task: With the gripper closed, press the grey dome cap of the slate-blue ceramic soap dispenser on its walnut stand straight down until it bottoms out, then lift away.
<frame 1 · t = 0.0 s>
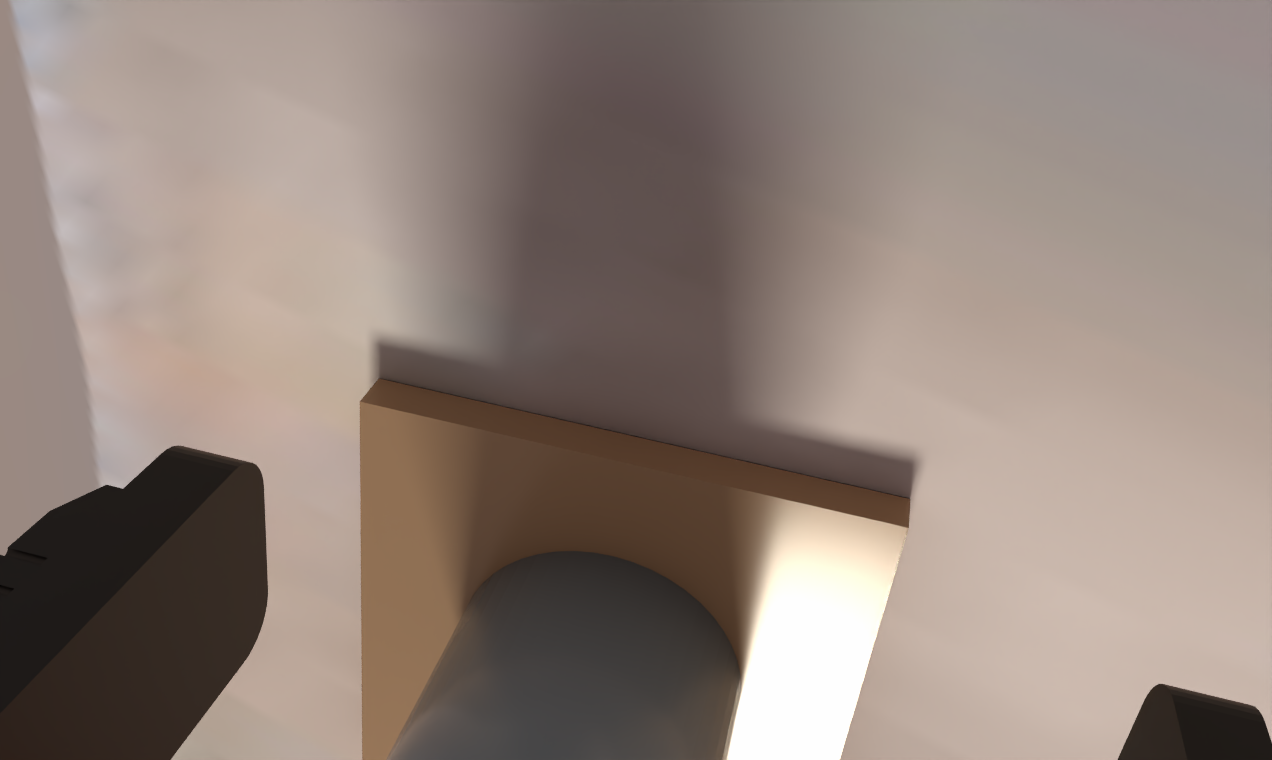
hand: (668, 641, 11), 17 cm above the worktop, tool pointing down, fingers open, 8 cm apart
soap dispenser: (608, 637, 34), on the worktop
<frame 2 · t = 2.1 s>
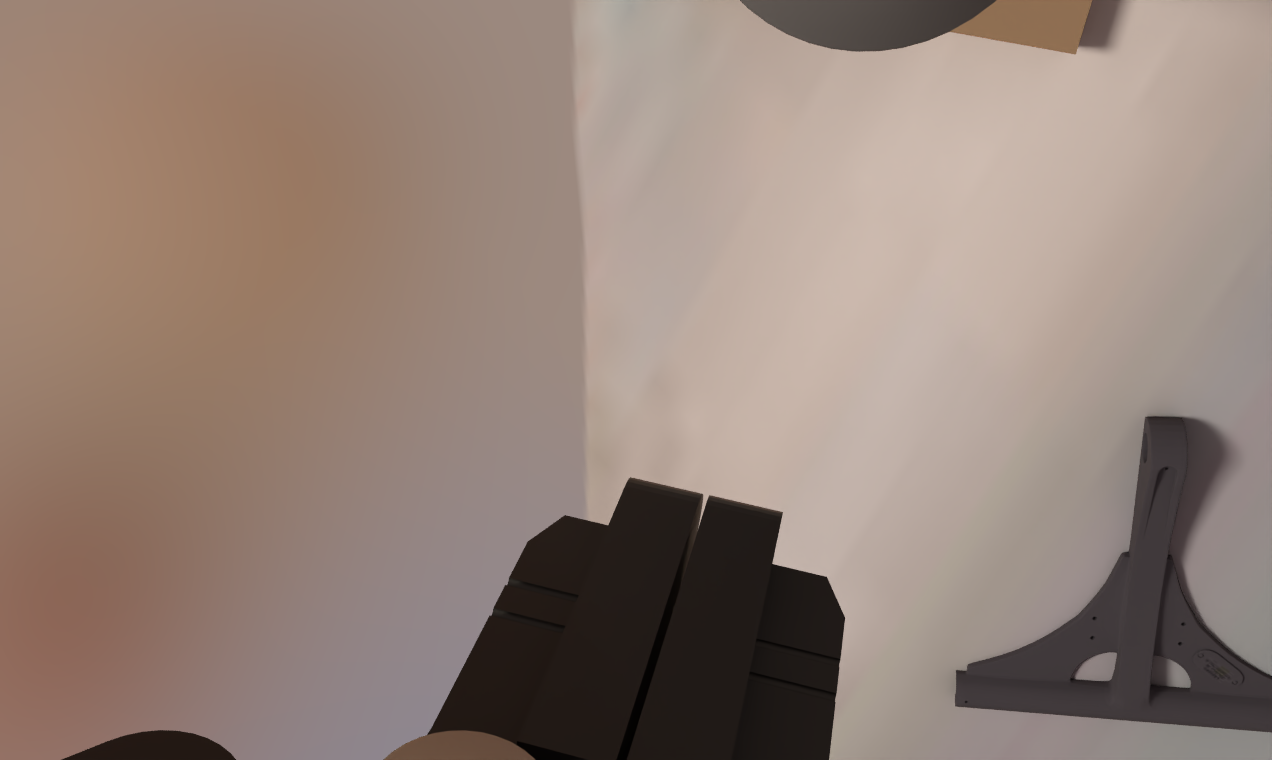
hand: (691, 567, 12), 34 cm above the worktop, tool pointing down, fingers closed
bracket: (1143, 562, 50), on the worktop
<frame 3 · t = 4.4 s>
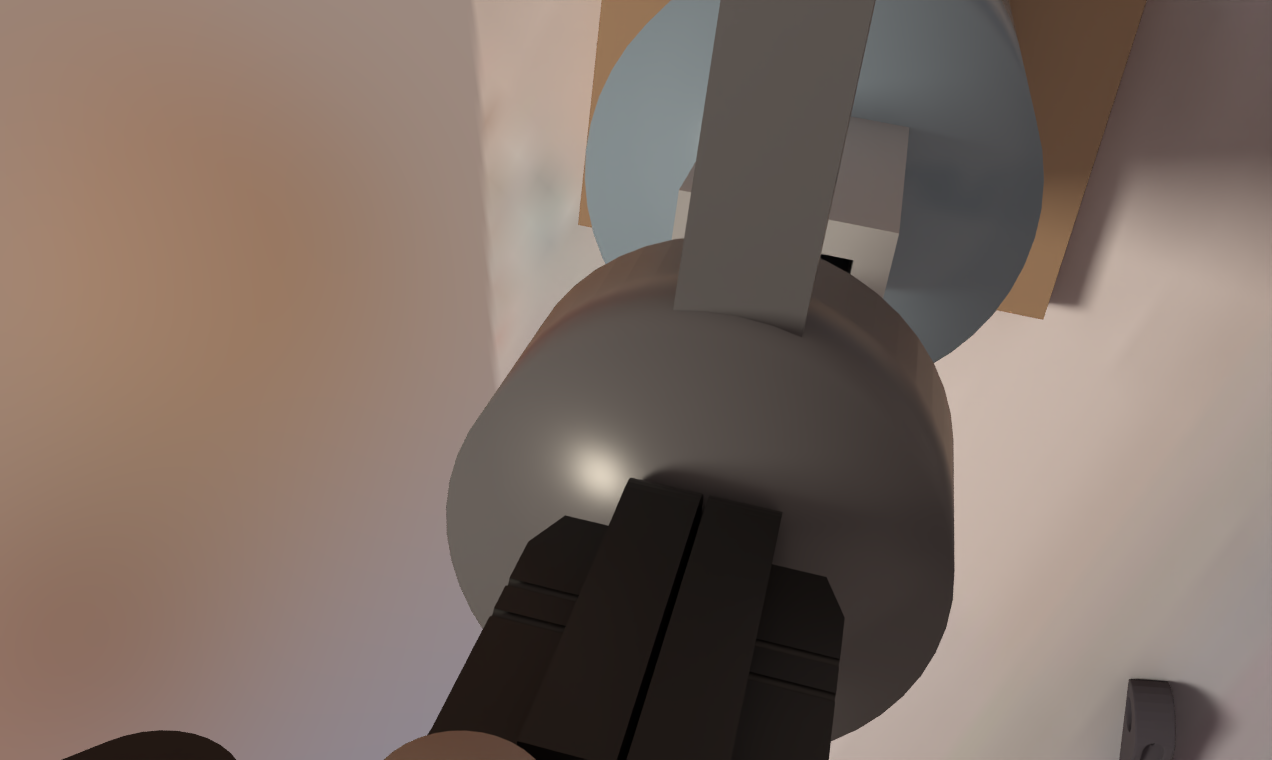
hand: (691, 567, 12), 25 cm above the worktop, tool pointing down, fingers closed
grey dome cap: (768, 263, 14), point 22 cm above the worktop, slide at 0.7 cm, touching gripper
soap dispenser: (856, 25, 33), on the worktop
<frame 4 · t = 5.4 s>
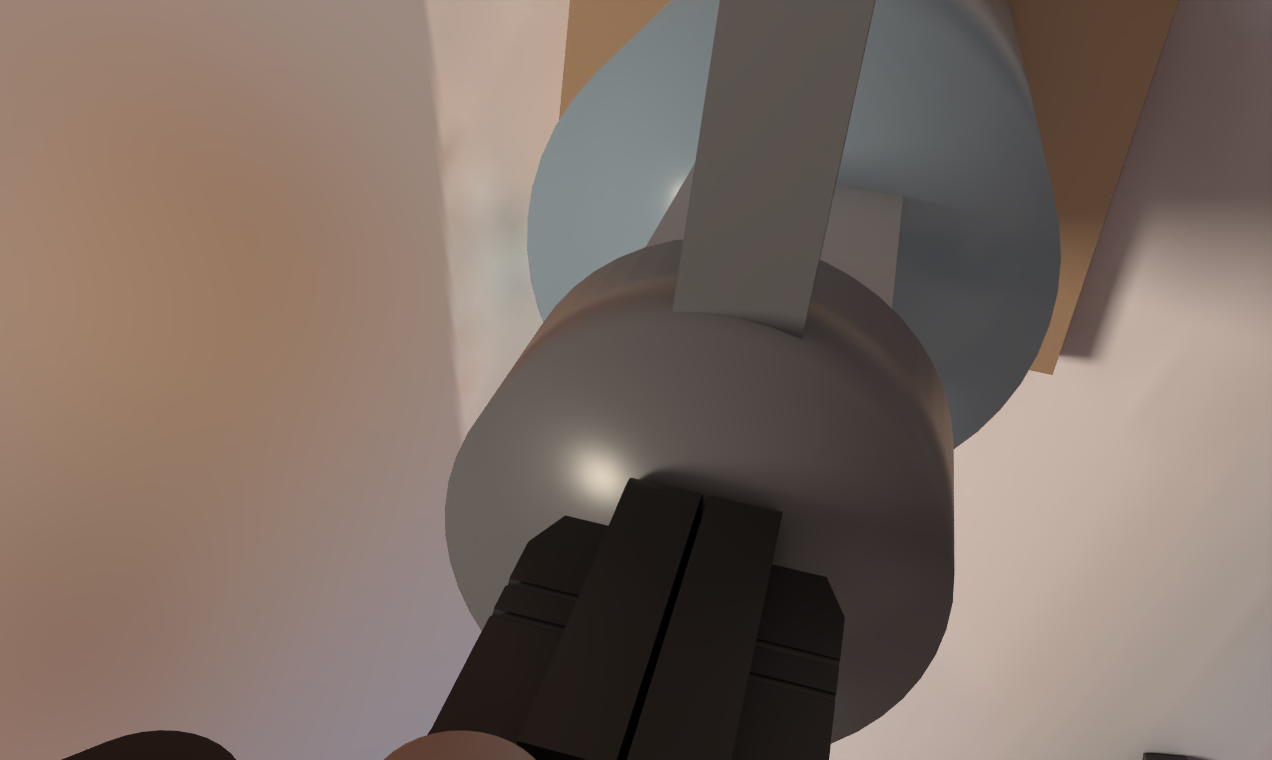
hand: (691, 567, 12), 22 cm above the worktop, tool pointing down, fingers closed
grey dome cap: (767, 264, 14), point 18 cm above the worktop, slide at 4.2 cm, touching gripper
soap dispenser: (848, 54, 30), on the worktop
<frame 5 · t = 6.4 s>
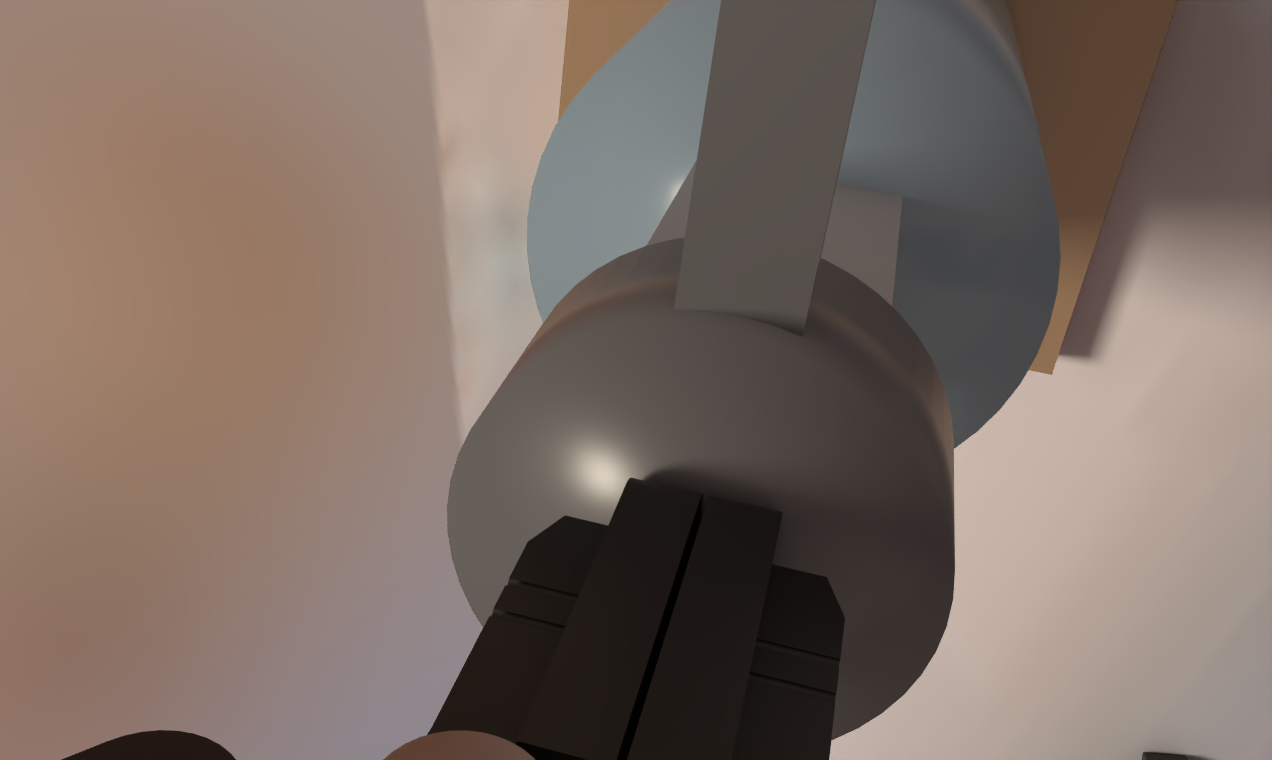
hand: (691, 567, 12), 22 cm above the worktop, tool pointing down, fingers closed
grey dome cap: (768, 262, 14), point 18 cm above the worktop, slide at 4.2 cm, touching gripper
soap dispenser: (847, 54, 30), on the worktop
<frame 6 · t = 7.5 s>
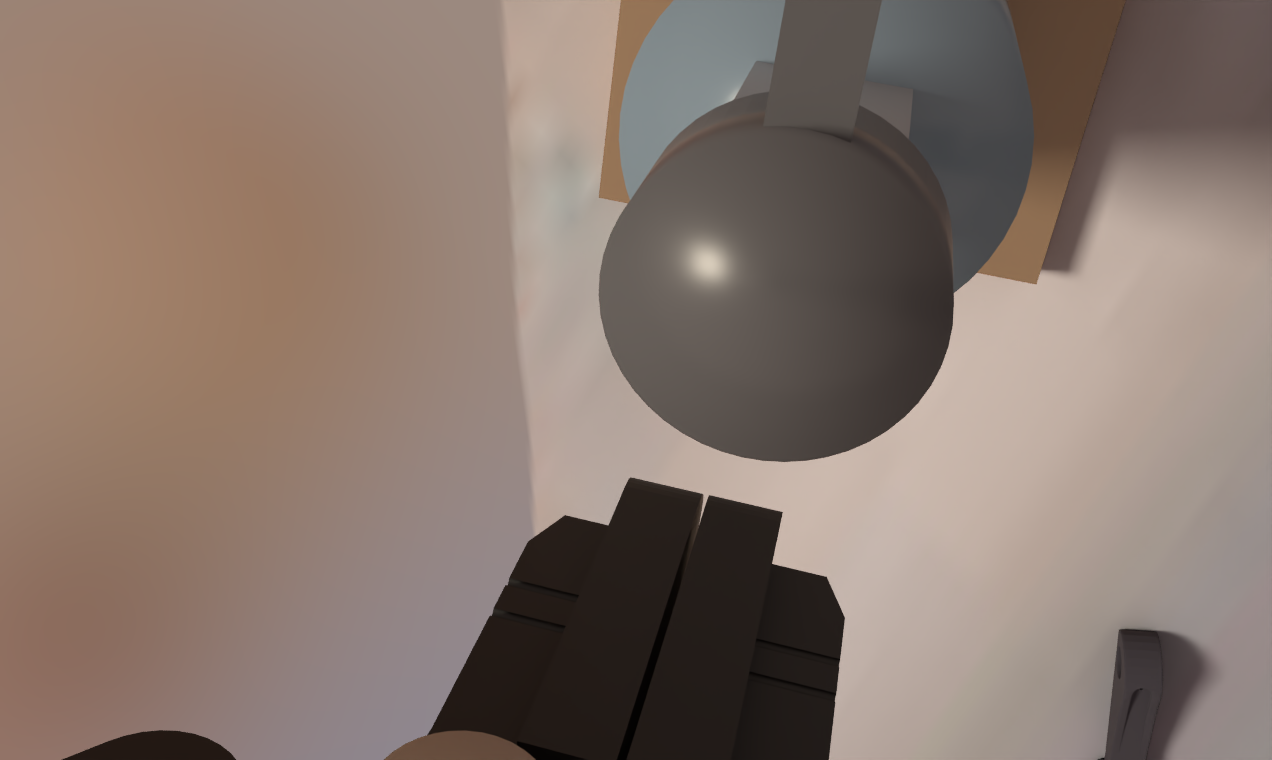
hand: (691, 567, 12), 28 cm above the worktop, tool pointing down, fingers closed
grey dome cap: (817, 120, 19), point 18 cm above the worktop, slide at 4.2 cm
soap dispenser: (861, 8, 36), on the worktop
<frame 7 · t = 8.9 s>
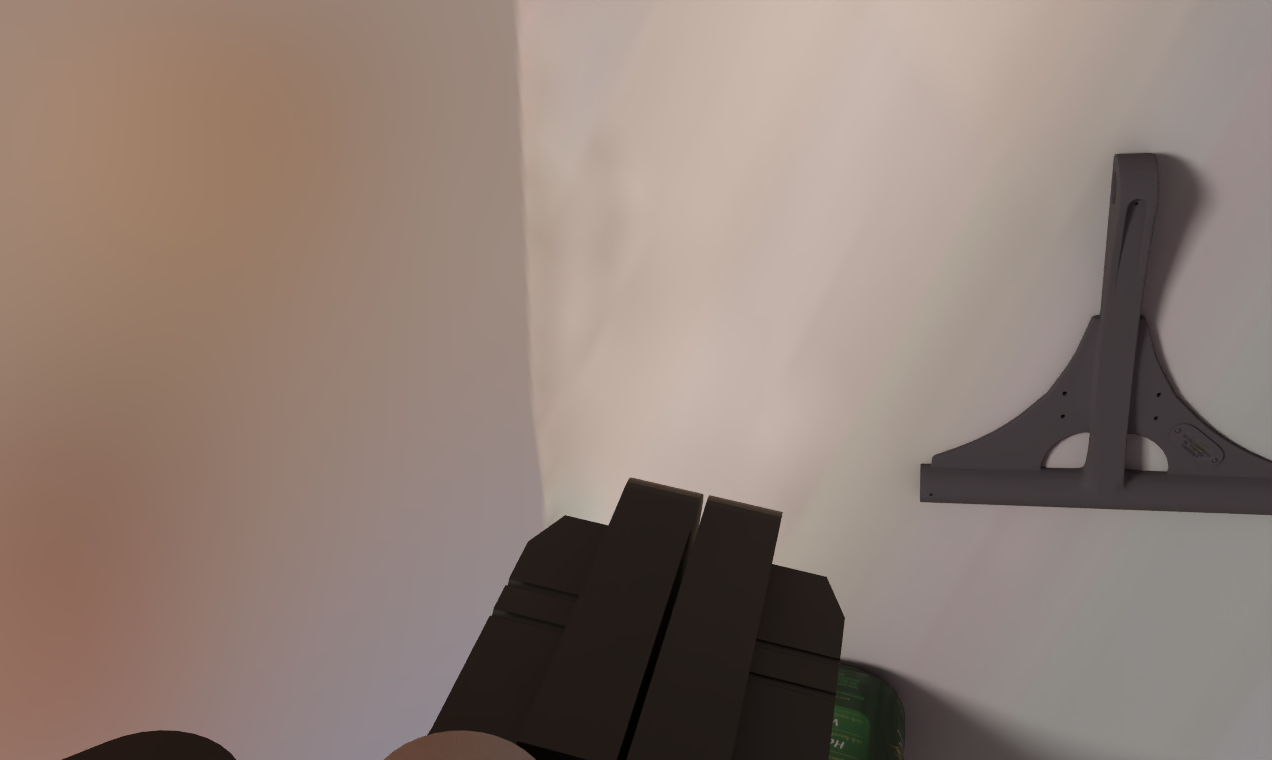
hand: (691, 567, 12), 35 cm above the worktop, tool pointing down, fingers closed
coffee jar: (819, 725, 59), on the worktop
bracket: (1115, 331, 47), on the worktop
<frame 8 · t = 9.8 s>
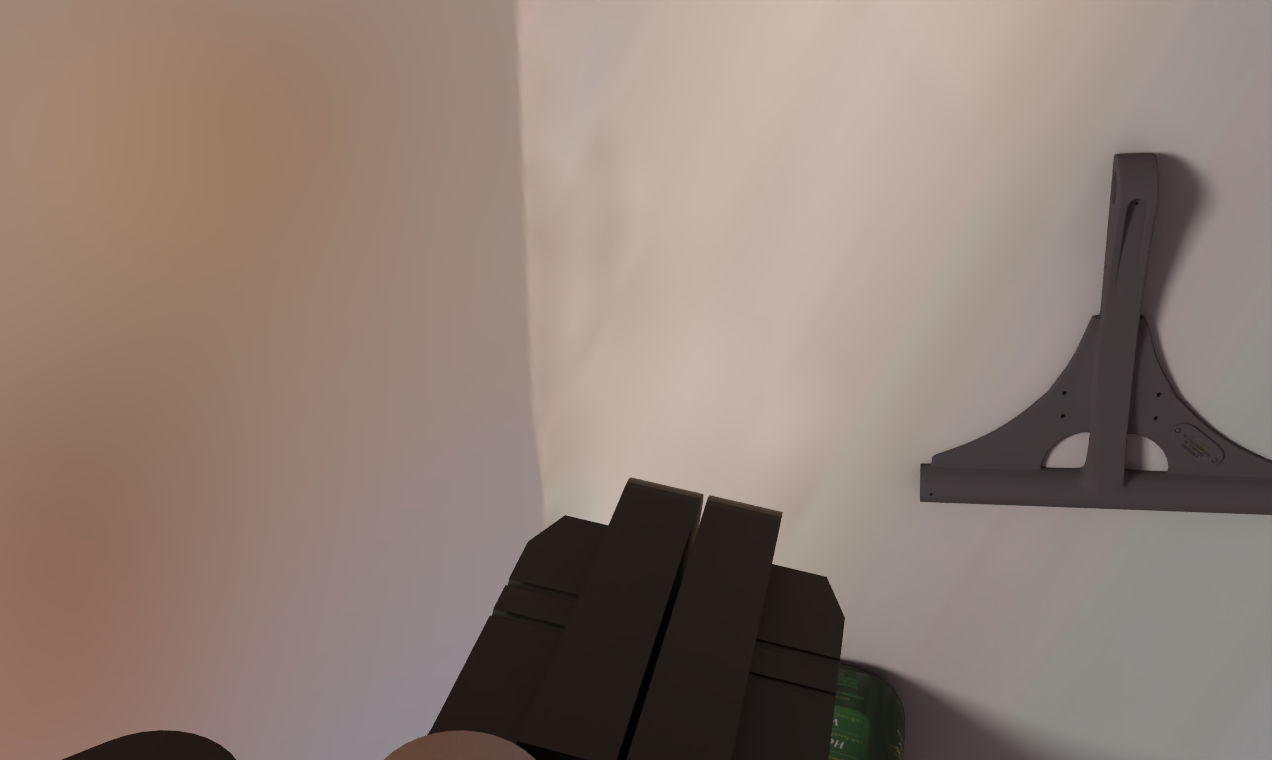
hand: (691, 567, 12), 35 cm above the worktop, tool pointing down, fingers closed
coffee jar: (819, 725, 59), on the worktop
bracket: (1115, 331, 47), on the worktop
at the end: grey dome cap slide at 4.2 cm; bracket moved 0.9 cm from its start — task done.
